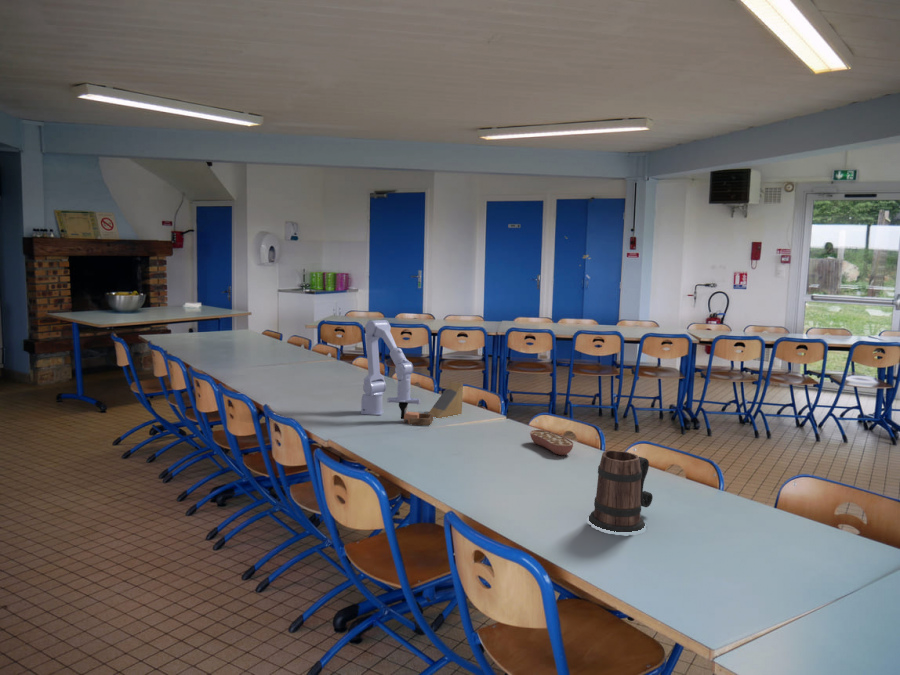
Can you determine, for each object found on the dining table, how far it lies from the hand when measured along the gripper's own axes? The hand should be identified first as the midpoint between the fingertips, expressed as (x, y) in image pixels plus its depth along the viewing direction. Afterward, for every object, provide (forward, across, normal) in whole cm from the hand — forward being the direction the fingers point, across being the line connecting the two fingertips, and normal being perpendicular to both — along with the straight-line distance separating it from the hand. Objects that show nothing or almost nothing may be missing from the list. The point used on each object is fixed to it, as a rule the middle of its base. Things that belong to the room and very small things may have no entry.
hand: (403, 418), depth 289 cm
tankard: (+2, +83, -96) cm, 127 cm away
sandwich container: (+2, +16, +17) cm, 23 cm away
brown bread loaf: (+2, +65, -28) cm, 71 cm away
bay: (+1, +8, 0) cm, 8 cm away
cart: (+1, +4, 0) cm, 4 cm away
